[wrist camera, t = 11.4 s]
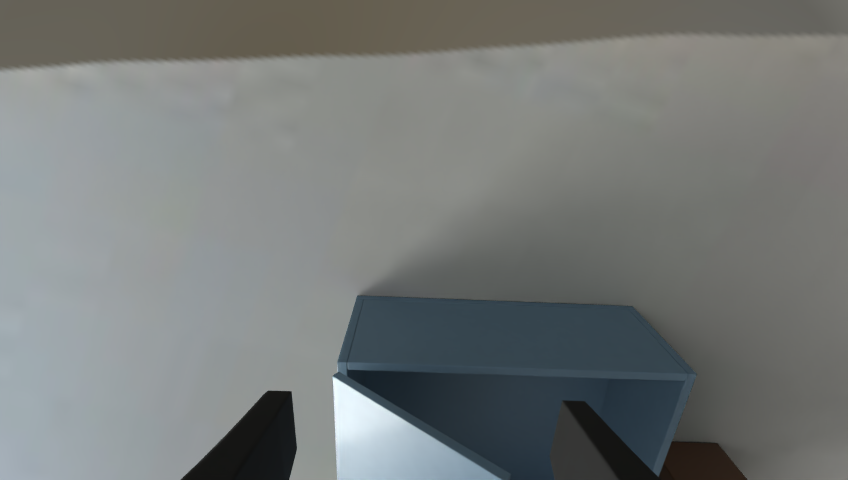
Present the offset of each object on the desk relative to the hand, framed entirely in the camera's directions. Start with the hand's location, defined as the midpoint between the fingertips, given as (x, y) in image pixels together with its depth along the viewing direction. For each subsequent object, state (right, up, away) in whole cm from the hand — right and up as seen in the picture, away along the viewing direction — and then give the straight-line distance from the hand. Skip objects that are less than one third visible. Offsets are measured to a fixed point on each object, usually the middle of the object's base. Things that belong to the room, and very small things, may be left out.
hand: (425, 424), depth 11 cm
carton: (+3, -6, +13) cm, 15 cm away
